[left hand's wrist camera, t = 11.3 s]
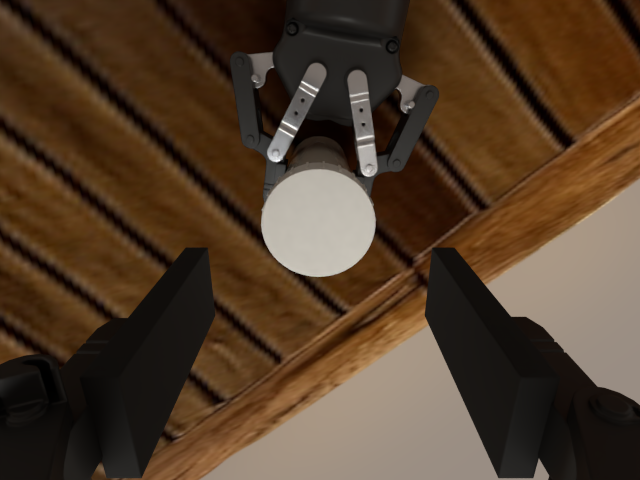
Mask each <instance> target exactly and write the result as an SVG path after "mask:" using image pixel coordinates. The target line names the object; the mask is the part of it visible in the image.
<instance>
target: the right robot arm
mask: <svg viewBox="0 0 640 480" xmlns="http://www.w3.org/2000/svg"><path fill="white" fill-rule="evenodd" d="M409 2H410V0H287V4H286V13H285V22H284V29H283V33H282V36H281V38H280V40H279V42H278V43H277V45H276V46H275V48H274V50H273V52H269V53H257V54H246V53H243V52H235V53H233V54H232V56H231V58H230V65H231V72H232V78H233V85H234V92H235V99H236V105H237V112H238V119H239V125H240V132H241V139H242V143H243V144H244V146H246V147H247V148H252V149H254V150H256V151H258V152H260V153H261V154H262V155H263V156H264V157H265V159H266V173H265V181H264V190H263V199H264V202H266V200H267V198H268V196H267V194H268V192H269V190H270V188H271V189H272V188H273V186H274V185H275V183H276V182H277V180H278V178H279V176H280V177H282V176H283V175H284V174H285V172H286V170H287V166H288V159H286V152H287V150H288V148H289V146H290V145H291V143H292V141H293V139H294V137H295V135H296V133H297V131H298V129H299V127H300V125H301V124H302V122H303V120H304V118H306V119H309V120H315V121H321V120H331V121H334V122H336V123H338V124H340V125H345V126H351V128H352V134H353V139H354V144H355V150H356V157H357V167H356V170H353V172H352V173H354V175H355V177H356V178H357V179H358V180H359V181H360V182H361V184H364V185H365V187H366V189H367V191H366V192H367V194H368V196H369V198H370V195H371V190H372V185H373V181H374V178H375V177H376V176H377V175H378V174H380V173H383V172H388V171H393V172H399V171H401V170H402V169H403V168H404V166H405V164H406V162H407V160H408V158H409V156H410V154H411V152H412V150H413V148H414V146H415V144H416V142H417V140H418V138H419V136H420V134H421V132H422V130H423V128H424V126H425V124H426V122H427V120H428V118H429V116H430V114H431V112H432V110H433V108H434V106H435V104H436V102H437V100H438V97H439V91H438V89H437V88H436V87H435V86H432V85H423V84H421V83H419V82H417V81H415V80H412V79H410V78H408V77H406V76H404V75H402V68H401V64H400V59H399V50H400V45H401V40H402V35H403V30H404V25H405V21H406V16H407V11H408V6H409ZM273 68H275V70H276V72H277V74H278V76H279V77H280V79H281V81H282V83H283V85H284V87H285V89H286V91H287V93H288V95H289V97H290V99H291V103H290V105H289V107H288V109H287V111H286V113H285V115H284V117H283V119H282V121H281V123H280V126H279V128H278V130H277V132H276V134H275V136H274V137H273V136H271V135H270V134H268V133H266V132H264V130H263V123H262V115H261V107H260V99H259V91H258V88H261V87H263V86H265V84H266V82H267V75H268V73H269V71H270V70H271V69H273ZM395 89H396V90H397V91H398V93H399V101H398V108H399V110H400V111H402V112H403V114H402V116H401V118H400V120H399V122H398V124H397V126H396V129H395V131H394V133H393V135H392V137H391V139H390V141H389V143H388V146H387V148H386V150H385V151H383V152H377V153H376V149H375V137H374V129H373V122H372V115H371V113H372V112H373V111H374V110H375V109H376V108H377V107H378V106H379V105H380V104H381V103H382V102H383V101H384V100H385V99H386V98H387V97H388V96H389V95H390V94H391V93H392V92H393V91H394V90H395Z"/></svg>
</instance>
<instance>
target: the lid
mask: <svg viewBox="0 0 640 480" xmlns="http://www.w3.org/2000/svg"><path fill="white" fill-rule="evenodd" d="M366 191H367V189H366V187H365V185H364V184H361V182H360V181H359V180H358V179H357V178H356V177H355V175H354V173H352V174H351V173H350V172H349V171H347V170H345V169H343V168H341V166H340V165H338V166H336V165H333V164H329V163H325V161H323V163H321V162H318V163H309V162H306V164H304V165H300V166H298V167H295V168H293V167H292V168H291V170H290V171H288V172H287V173H285V174H284V175H283V176H282V177H280V176H279V178H278V180H277V182H276V183H275V185H274V186H273V188H272V189H271V188H270V190H269V192H268V194H267V196H268V198H267V200H266V202H265V203H264V206H263V208H262V211H263V212H262V219H261V226H262V233H263V237H264V240H265V243H266V245H267V247H268V249H269V250H270V252H271V253H272V255H273V256H274V257H275V258H276V259H277V260H278V261H279V262H280V263H281V264H283V265H284V266H285V267H287V268H288V269H290V270H292V271H294V272H297V273H300V274H303V275H307V276H315V277H321V276H330V275H334V274H338V273H340V272H343V271H345V270H347V269H348V268H350V267H352V266H353V265H354V264H356V263H357V262H358V261H359V260H360V259H361V258H362V257H363V256H364V254H365V253H366V252H367V250H368V248H369V247H370V244H371V242H372V240H373V236H374V232H375V221H376V218H375V213H374V209H373V206H374V204H373V202H372V199H371V197H370V198H369V196H368V194H367V192H366Z"/></svg>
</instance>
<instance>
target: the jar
mask: <svg viewBox="0 0 640 480" xmlns="http://www.w3.org/2000/svg"><path fill="white" fill-rule="evenodd" d="M323 161H325V163H329V164H333V165H336V166H338V165H340V166H341V168H343V169H345V170H347V171H349V172H350V173H351V174H352V172H351V169H350V167H349V164H348V161H347V158H346V156H345V153H344V151H343V149H342V148H341V147H340V145H339V144H338V143H337V142H335V141H334V140H332V139H330V138H328V137H324V136H314V137H310V138H307V139H305V140H304V141H302V142H301V143H300V144H299V145H298V146H297V147H296V148H295V150H294V152H293V154H292V157H291V159H290V162H289V165H288V167H287V170H286V172H285V173H287V172H288V171H290V170H291V168H292V167H293V168H295V167H298V166H300V165H304V164H306V162H309V163H318V162H321V163H323Z"/></svg>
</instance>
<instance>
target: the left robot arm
mask: <svg viewBox="0 0 640 480" xmlns="http://www.w3.org/2000/svg"><path fill="white" fill-rule="evenodd" d="M214 317H215V309H214V300H213V291H212V282H211V273H210V264H209V255H208V248H185V249H184V251H183V252H182V253H181V254H180V255H179V257H178V258H177V259H176V260H175V261H174V263H173V264H172V265H171V266H170V268H169V269H168V270H167V271H166V272H165V274H164V275H163V276H162V277H161V278H160V280H159V281H158V282H157V283H156V285H155V286H154V287H153V288H152V289H151V291H150V292H149V293H148V294H147V296H146V297H145V298H144V299H143V300H142V302H141V303H140V304H139V305H138V306H137V308H136V309H135V310H134V311H133V313H132V314H131V315H130V316H129V317H128V318H114V319H112V320H111V321H109V322H107V323H106V324H104V325H103V326H101V327H99V328H98V329H97V330H96V331H95V332H94V333H93V334H92V335H91V336H90V337H89V338H88V340H87V341H86V344H83V345H82V346H81V347H80V348H79V349H78V351H77V354H74V355H73V356H72V357H71V358H70V359H69V360H68V361H67V363H66V364H65V365H64V366H63V367H62V368H61V369H59V366H58V363H57V360H56V359H55V358H53V357H52V356H50V355H43V354H35V355H26V356H22V357H19V358H15V359H12V360H9V361H7V362H5V363H3V364H0V480H92V479H91V476H92V475H93V473H94V471H95V469H96V468H97V466H98V464H99V463H100V461H101V459H102V463H103V466H104V470H105V474H106V477H107V478H142V476H143V474H144V471H145V469H146V467H147V465H148V463H149V460H150V458H151V456H152V454H153V452H154V449H155V447H156V445H157V443H158V441H159V438H160V436H161V434H162V432H163V430H164V427H165V425H166V423H167V421H168V418H169V416H170V414H171V412H172V410H173V407H174V405H175V403H176V401H177V399H178V396H179V394H180V392H181V390H182V388H183V385H184V383H185V381H186V379H187V377H188V374H189V372H190V370H191V368H192V366H193V363H194V361H195V359H196V357H197V355H198V352H199V350H200V348H201V346H202V344H203V341H204V339H205V337H206V335H207V332H208V330H209V328H210V326H211V324H212V321H213V319H214ZM425 317H426V319H427V321H428V324H429V326H430V328H431V330H432V332H433V335H434V337H435V339H436V341H437V343H438V346H439V348H440V350H441V352H442V355H443V357H444V359H445V361H446V363H447V365H448V368H449V370H450V372H451V374H452V377H453V379H454V381H455V383H456V385H457V388H458V390H459V392H460V394H461V396H462V399H463V401H464V403H465V405H466V407H467V410H468V412H469V414H470V416H471V418H472V421H473V423H474V425H475V427H476V430H477V432H478V434H479V436H480V438H481V440H482V443H483V445H484V447H485V449H486V451H487V454H488V456H489V458H490V460H491V463H492V465H493V467H494V469H495V471H496V474H497V476H498V478H533V477H534V474H535V470H536V466H537V463H538V459H540V461H541V462H542V464H543V466H544V467H545V469H546V471H547V472H548V474H549V479H548V480H640V405H639V404H638V403H636V402H635V401H634V400H632V399H630V398H628V397H626V396H624V395H622V394H621V393H618V392H615V391H612V390H609V389H606V388H602V387H597V386H596V385H595V384H594V382H593V381H592V380H591V379H590V378H589V377H588V376H587V375H586V374H585V373H584V372H583V370H582V369H581V368H580V367H579V366H578V365H577V364H576V363H575V362H574V361H573V360H572V359H571V357H570V356H569V355H568V354H567V353H564V350H563V349H562V348H561V347H560V345H559V344H558V343H557V342H554V339H553V338H552V337H551V336H550V335H549V333H548V332H547V331H546V330H545V329H544V328H543V327H541V326H540V325H538V324H537V323H535V322H533V321H532V320H530V319H528V318H527V317H511V316H510V315H509V314H508V313H507V311H506V310H505V309H504V308H503V306H502V305H501V304H500V303H499V302H498V300H497V299H496V298H495V297H494V296H493V294H492V293H491V292H490V291H489V289H488V288H487V287H486V286H485V285H484V283H483V282H482V281H481V280H480V278H479V277H478V276H477V275H476V274H475V272H474V271H473V270H472V269H471V268H470V266H469V265H468V264H467V263H466V261H465V260H464V259H463V258H462V257H461V255H460V254H459V253H458V252H457V251H456V249H455V248H432V255H431V264H430V273H429V282H428V291H427V300H426V309H425Z"/></svg>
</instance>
